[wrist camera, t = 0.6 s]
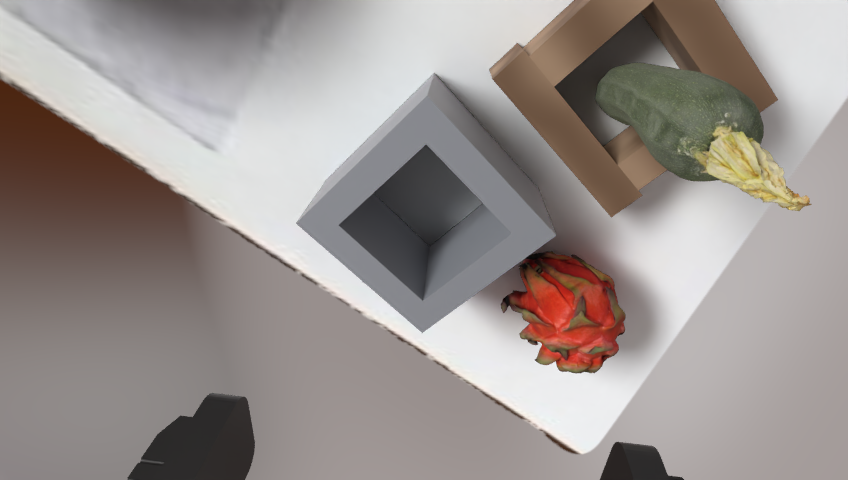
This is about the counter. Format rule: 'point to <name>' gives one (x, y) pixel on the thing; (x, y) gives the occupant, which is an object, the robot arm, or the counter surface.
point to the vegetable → (696, 128)
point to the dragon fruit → (568, 311)
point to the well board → (579, 38)
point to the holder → (398, 244)
